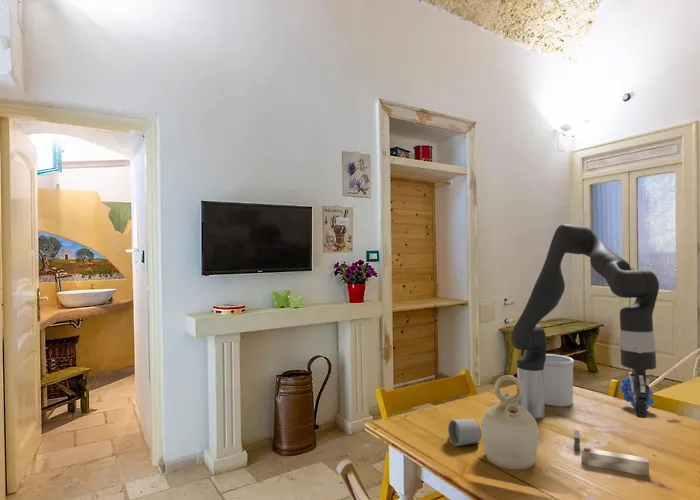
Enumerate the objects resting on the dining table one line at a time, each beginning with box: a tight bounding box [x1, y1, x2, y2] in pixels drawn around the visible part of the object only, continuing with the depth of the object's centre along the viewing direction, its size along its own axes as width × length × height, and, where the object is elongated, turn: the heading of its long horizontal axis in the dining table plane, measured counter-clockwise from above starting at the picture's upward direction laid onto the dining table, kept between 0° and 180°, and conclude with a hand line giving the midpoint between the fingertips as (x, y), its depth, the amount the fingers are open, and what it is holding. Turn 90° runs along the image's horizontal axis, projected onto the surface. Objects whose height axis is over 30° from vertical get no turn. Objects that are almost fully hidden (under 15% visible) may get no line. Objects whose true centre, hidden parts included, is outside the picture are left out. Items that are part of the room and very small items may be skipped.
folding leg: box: [580, 446, 650, 477], centre depth 117 cm, size 16×3×4 cm, turn 63°
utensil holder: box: [544, 353, 575, 407], centre depth 176 cm, size 15×15×18 cm
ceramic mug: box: [447, 418, 482, 447], centre depth 139 cm, size 11×8×8 cm
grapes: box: [618, 377, 655, 411], centre depth 166 cm, size 12×7×12 cm, turn 35°
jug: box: [480, 374, 540, 471], centre depth 124 cm, size 15×16×25 cm
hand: (641, 417), depth 110 cm, fingers closed
